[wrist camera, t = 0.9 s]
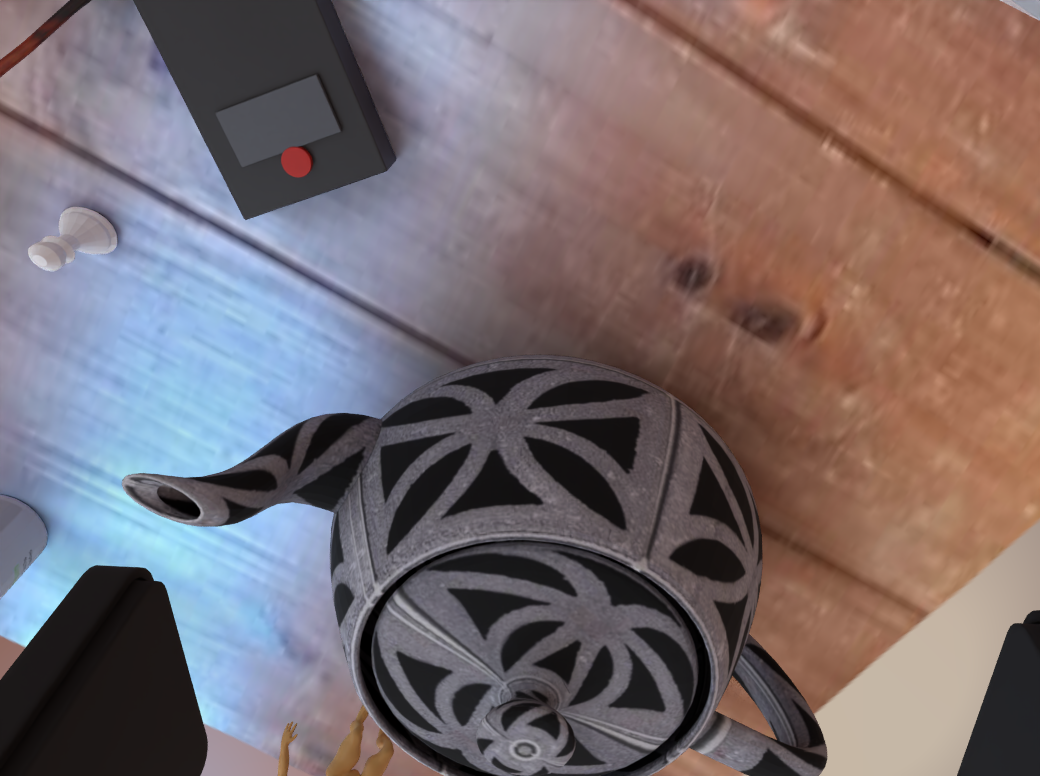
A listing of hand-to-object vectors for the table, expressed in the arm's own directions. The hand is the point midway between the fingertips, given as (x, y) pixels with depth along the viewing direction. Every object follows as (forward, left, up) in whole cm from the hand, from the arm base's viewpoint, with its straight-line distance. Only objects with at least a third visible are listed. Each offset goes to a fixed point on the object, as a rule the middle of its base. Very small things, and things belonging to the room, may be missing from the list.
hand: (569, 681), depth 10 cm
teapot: (+15, -8, -28) cm, 33 cm away
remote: (-10, -11, -28) cm, 32 cm away
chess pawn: (-3, -22, -28) cm, 36 cm away
